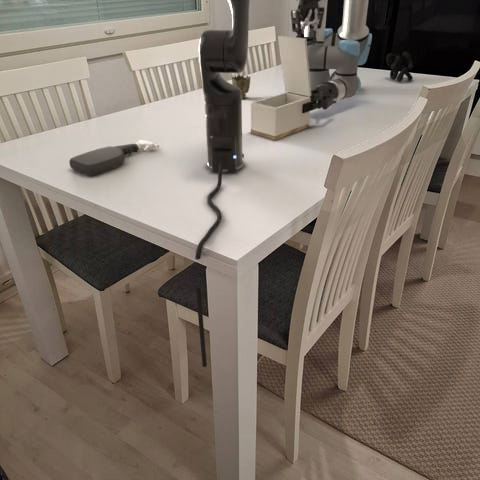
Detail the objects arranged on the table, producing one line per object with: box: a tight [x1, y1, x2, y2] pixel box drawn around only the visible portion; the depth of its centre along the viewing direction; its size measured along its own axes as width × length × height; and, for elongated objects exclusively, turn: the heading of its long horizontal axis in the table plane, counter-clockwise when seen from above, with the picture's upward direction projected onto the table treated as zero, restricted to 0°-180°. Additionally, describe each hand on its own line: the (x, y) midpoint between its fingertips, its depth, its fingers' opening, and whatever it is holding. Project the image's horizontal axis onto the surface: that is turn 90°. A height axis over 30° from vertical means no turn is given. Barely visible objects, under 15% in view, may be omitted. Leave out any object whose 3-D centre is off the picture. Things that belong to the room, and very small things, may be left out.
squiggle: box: [385, 51, 414, 83], centre depth 198 cm, size 11×10×15 cm
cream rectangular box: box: [250, 91, 311, 141], centre depth 142 cm, size 17×10×10 cm, turn 136°
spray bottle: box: [68, 139, 160, 177], centre depth 124 cm, size 3×11×24 cm
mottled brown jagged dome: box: [231, 74, 252, 99], centre depth 177 cm, size 8×7×8 cm
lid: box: [277, 35, 317, 97], centre depth 140 cm, size 18×10×8 cm
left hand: (306, 45), depth 138 cm, fingers open, 5 cm apart
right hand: (289, 105), depth 143 cm, fingers closed on cream rectangular box, 10 cm apart
